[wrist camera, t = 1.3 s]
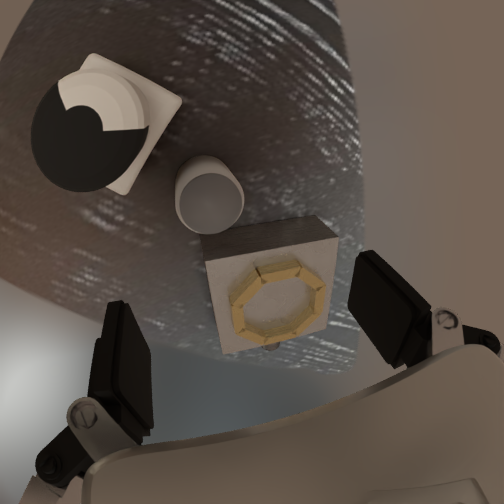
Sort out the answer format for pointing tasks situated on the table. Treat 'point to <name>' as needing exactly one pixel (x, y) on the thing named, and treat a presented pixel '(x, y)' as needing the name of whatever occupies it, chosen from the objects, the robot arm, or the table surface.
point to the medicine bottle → (99, 126)
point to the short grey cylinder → (207, 195)
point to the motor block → (270, 281)
